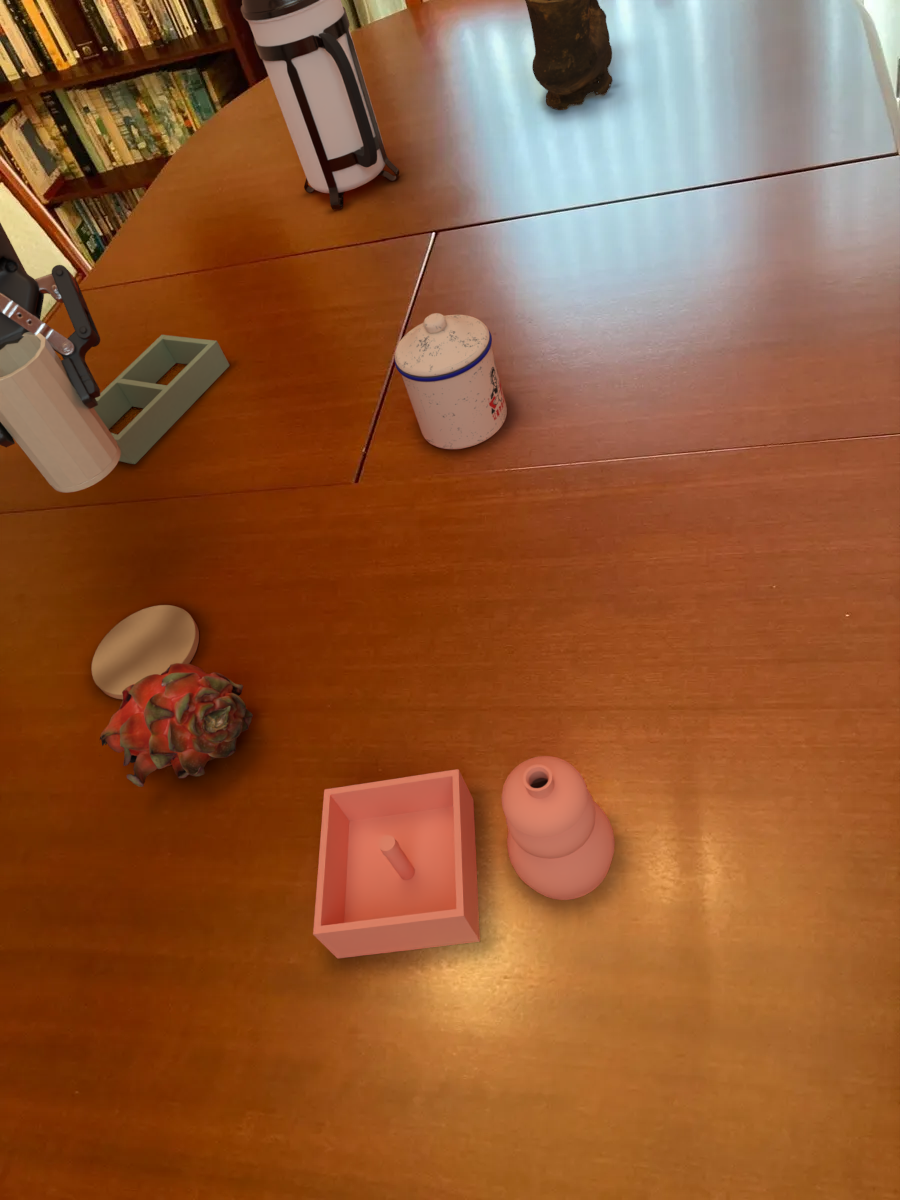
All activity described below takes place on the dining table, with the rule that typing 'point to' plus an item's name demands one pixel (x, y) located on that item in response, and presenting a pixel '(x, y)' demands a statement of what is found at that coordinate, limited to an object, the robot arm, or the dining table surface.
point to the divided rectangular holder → (159, 390)
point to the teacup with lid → (452, 380)
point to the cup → (52, 417)
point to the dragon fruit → (177, 721)
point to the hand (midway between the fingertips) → (49, 423)
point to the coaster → (144, 647)
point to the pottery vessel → (570, 49)
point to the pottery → (447, 854)
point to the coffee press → (320, 92)
